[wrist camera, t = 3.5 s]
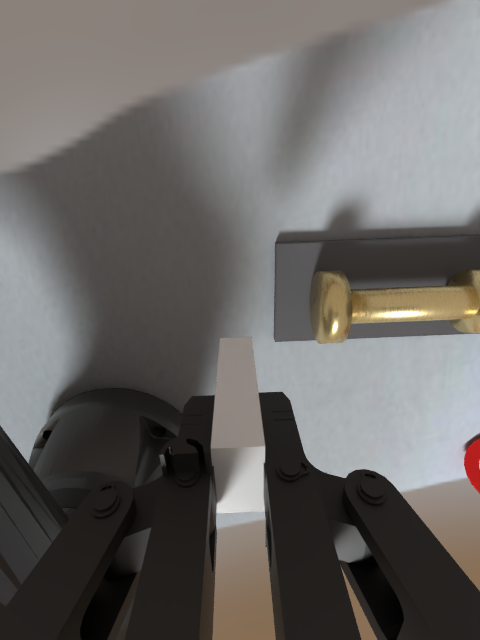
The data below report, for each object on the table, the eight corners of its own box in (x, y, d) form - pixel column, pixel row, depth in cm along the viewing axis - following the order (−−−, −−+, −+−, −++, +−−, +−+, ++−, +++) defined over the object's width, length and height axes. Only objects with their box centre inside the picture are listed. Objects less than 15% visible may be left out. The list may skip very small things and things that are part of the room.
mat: (273, 337, 26) (275, 341, 25) (275, 242, 22) (276, 244, 22) (526, 326, 26) (535, 330, 25) (564, 231, 23) (575, 233, 22)
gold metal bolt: (307, 325, 24) (325, 357, 20) (312, 263, 22) (333, 283, 18) (532, 315, 24) (601, 345, 20) (556, 254, 22) (640, 271, 18)
